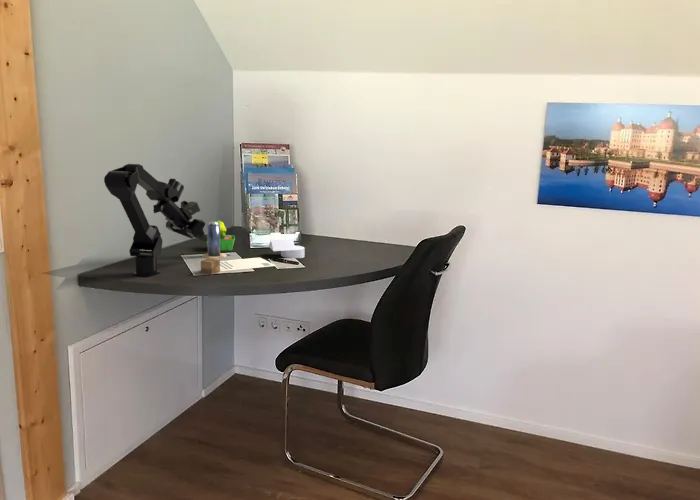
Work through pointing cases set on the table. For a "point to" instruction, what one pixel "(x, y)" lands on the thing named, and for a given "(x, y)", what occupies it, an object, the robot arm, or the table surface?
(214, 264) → the cube
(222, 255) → the coaster
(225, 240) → the fruit basket
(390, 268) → the table surface
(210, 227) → the flask
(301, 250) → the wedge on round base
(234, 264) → the letter
